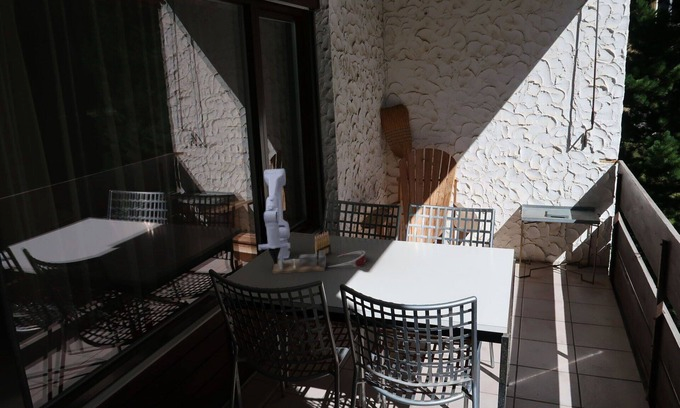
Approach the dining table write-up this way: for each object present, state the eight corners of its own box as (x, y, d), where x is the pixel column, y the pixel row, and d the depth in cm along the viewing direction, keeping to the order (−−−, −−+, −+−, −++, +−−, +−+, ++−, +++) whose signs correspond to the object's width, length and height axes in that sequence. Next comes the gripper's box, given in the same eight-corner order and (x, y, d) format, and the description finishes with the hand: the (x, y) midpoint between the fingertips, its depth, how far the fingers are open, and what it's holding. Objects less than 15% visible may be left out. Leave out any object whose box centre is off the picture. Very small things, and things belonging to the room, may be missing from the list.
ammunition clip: (317, 260, 270) (316, 236, 267) (314, 259, 271) (313, 235, 268) (331, 253, 278) (329, 230, 275) (328, 253, 279) (326, 230, 276)
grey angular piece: (278, 269, 255) (277, 261, 254) (280, 263, 264) (279, 255, 263) (299, 268, 255) (299, 260, 254) (300, 262, 264) (300, 254, 263)
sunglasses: (361, 270, 253) (359, 259, 252) (327, 274, 259) (325, 264, 258) (371, 257, 269) (369, 247, 268) (339, 261, 275) (337, 252, 274)
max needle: (293, 268, 256) (292, 259, 255) (293, 267, 257) (293, 258, 256) (295, 268, 256) (294, 259, 255) (295, 267, 257) (294, 258, 256)
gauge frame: (272, 273, 255) (271, 261, 254) (275, 264, 267) (274, 252, 265) (325, 270, 255) (325, 257, 254) (326, 261, 267) (325, 249, 265)
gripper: (256, 239, 253) (259, 267, 256) (288, 237, 253) (290, 265, 256) (258, 234, 260) (261, 261, 263) (289, 232, 260) (291, 260, 263)
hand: (275, 263), depth 260 cm, fingers closed
